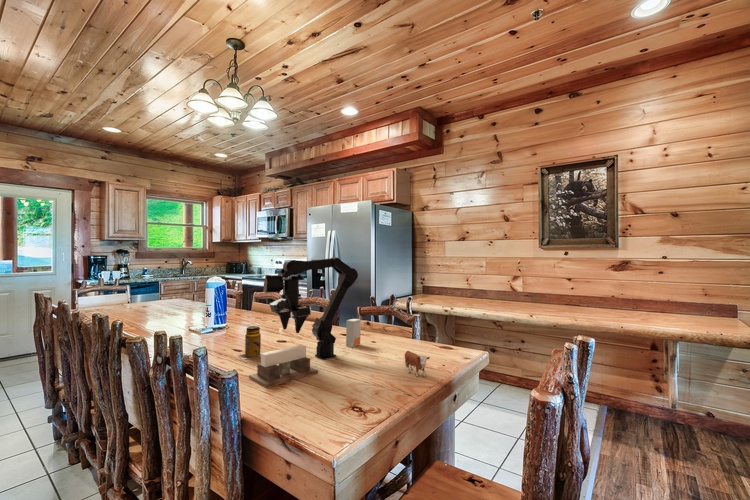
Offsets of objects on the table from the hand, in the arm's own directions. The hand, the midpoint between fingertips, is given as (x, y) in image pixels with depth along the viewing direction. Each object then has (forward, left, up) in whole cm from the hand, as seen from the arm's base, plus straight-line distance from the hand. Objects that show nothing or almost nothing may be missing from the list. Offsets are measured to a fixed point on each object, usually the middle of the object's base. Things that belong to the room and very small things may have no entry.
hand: (291, 331), depth 137 cm
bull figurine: (-24, +44, -12) cm, 52 cm away
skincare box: (-34, -1, -12) cm, 36 cm away
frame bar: (+10, +12, -7) cm, 17 cm away
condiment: (+8, -18, -12) cm, 23 cm away
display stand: (+10, +12, -12) cm, 20 cm away
